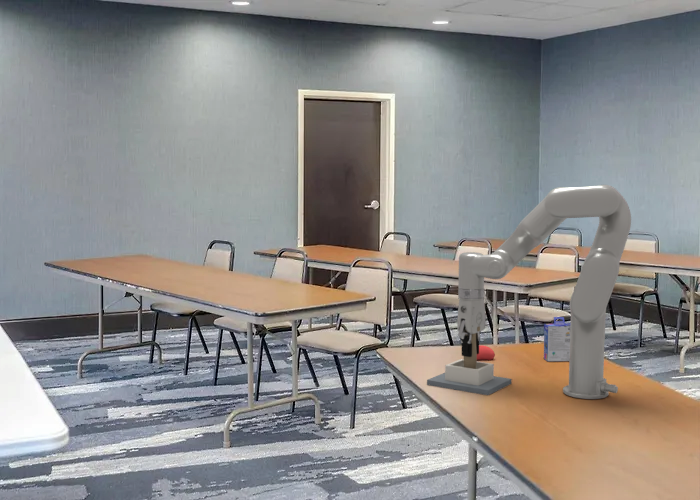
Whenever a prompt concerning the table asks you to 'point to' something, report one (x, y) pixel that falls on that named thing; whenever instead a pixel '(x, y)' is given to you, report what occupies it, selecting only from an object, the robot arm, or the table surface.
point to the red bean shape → (485, 353)
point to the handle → (471, 361)
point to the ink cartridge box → (557, 340)
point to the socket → (470, 378)
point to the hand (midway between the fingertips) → (470, 354)
